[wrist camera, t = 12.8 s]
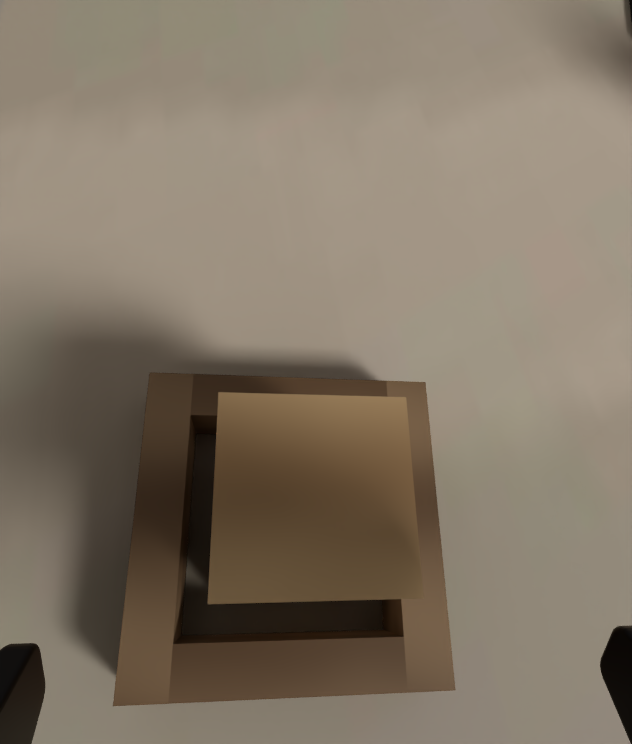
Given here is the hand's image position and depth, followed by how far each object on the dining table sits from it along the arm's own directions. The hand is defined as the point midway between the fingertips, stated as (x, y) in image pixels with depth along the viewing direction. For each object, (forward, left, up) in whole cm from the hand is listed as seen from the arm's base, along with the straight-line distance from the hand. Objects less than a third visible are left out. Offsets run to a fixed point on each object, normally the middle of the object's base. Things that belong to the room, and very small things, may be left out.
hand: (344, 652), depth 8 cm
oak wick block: (+2, +2, -11) cm, 12 cm away
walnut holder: (+2, +2, -11) cm, 11 cm away
